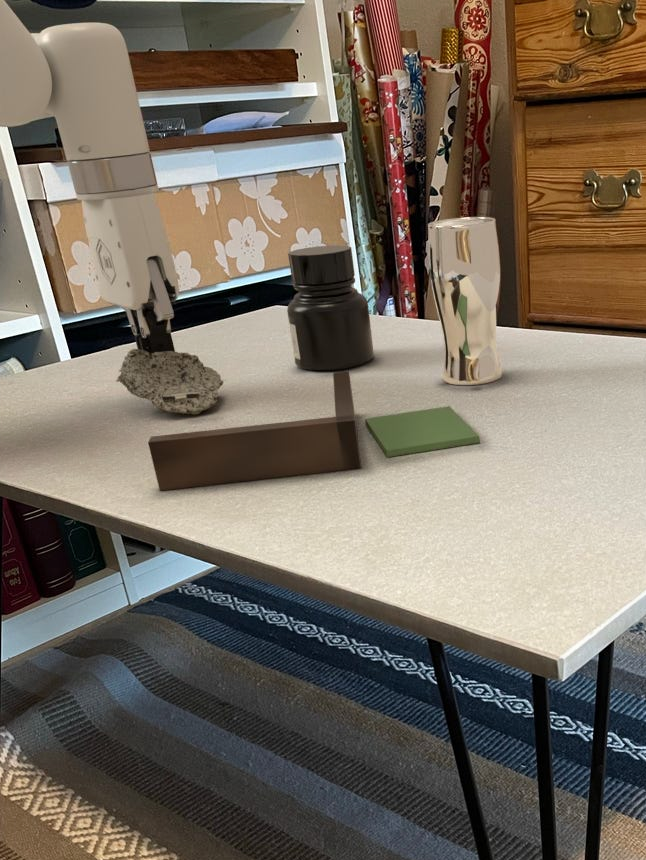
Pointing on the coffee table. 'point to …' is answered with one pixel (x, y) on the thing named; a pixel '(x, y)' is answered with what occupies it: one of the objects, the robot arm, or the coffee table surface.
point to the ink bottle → (327, 310)
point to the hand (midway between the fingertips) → (162, 373)
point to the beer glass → (466, 296)
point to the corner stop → (261, 448)
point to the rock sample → (170, 380)
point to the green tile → (421, 431)
